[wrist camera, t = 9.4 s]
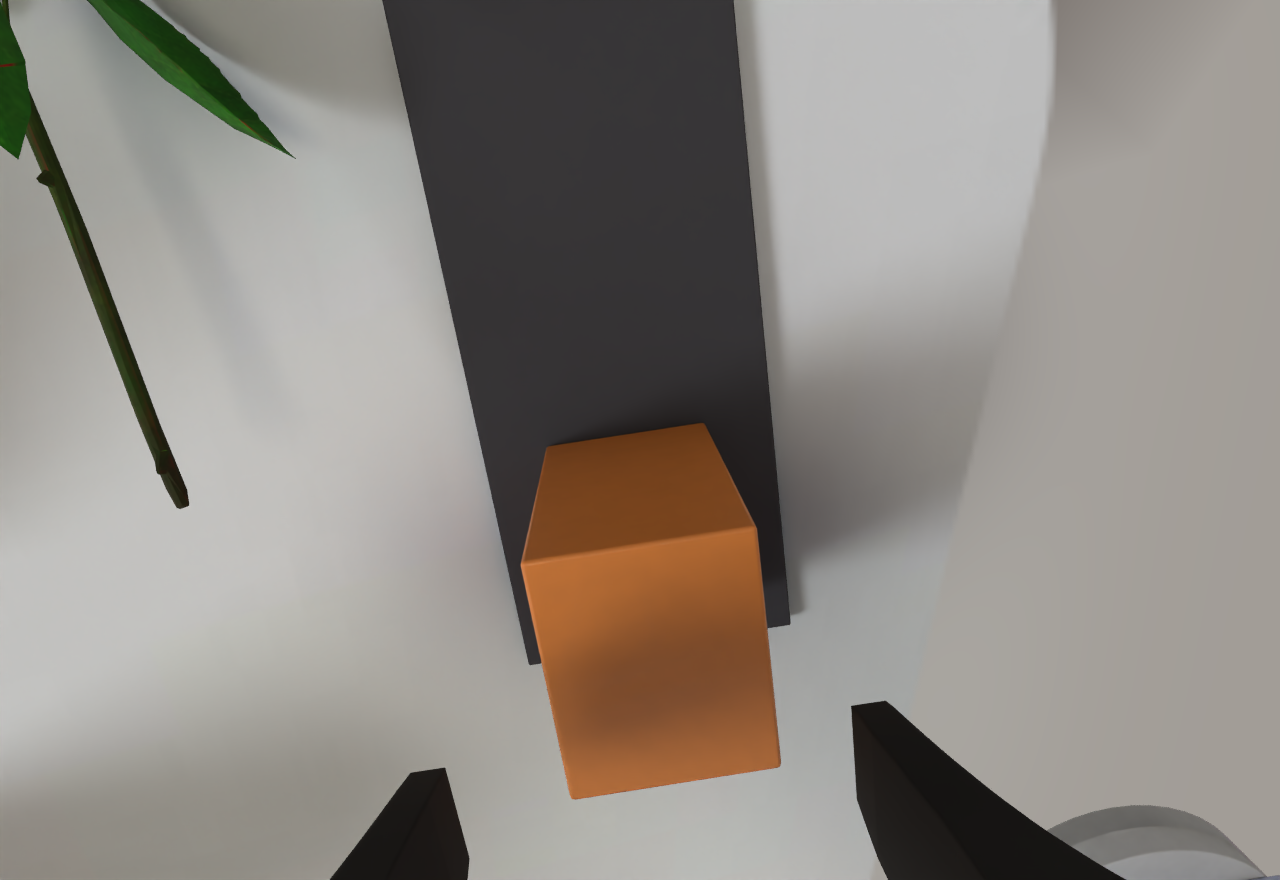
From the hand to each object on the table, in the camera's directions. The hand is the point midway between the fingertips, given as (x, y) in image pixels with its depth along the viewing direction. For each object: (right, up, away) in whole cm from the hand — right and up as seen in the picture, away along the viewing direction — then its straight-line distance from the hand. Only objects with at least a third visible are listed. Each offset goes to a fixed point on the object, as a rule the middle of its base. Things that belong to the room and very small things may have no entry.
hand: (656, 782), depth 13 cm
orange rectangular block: (0, +4, +8) cm, 9 cm away
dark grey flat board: (-2, +12, +6) cm, 14 cm away
